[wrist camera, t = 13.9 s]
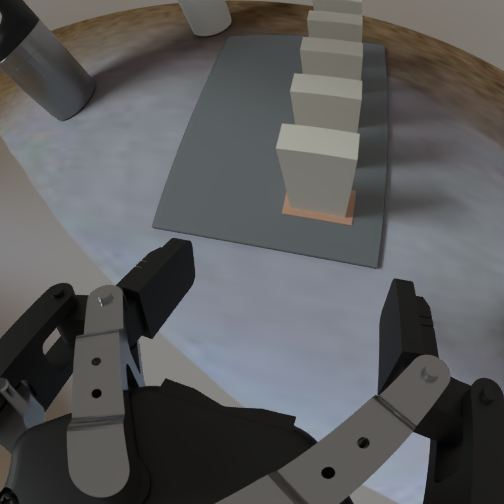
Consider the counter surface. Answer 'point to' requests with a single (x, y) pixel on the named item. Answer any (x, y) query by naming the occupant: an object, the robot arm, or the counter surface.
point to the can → (206, 16)
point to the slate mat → (272, 158)
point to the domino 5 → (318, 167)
